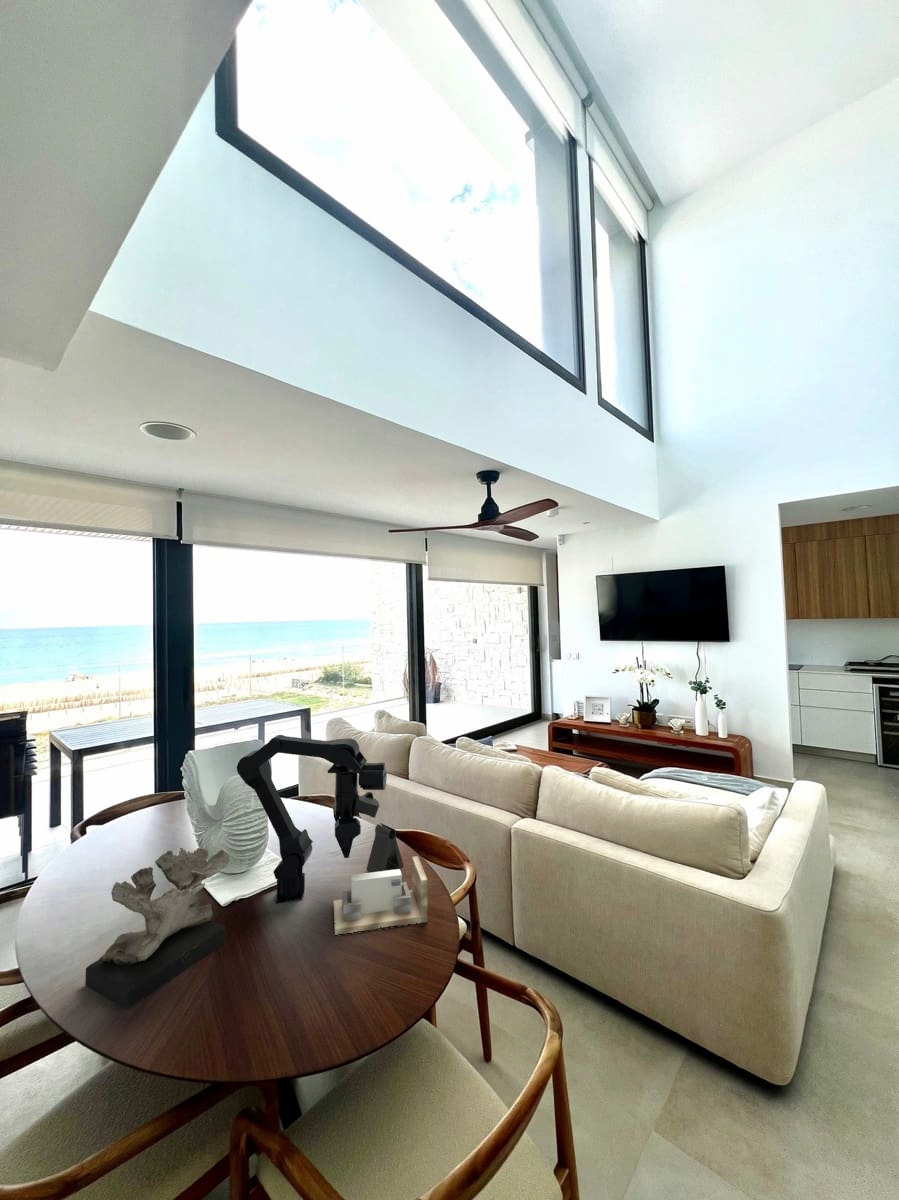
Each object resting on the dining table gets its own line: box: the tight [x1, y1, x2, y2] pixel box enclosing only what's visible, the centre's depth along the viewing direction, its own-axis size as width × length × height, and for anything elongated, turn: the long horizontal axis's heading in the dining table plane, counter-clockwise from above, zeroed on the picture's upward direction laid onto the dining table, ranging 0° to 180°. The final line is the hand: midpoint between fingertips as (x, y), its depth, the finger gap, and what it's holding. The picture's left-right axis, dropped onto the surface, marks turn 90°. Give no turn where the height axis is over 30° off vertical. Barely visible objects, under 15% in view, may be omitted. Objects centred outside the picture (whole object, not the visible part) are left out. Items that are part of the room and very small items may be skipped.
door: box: [350, 868, 403, 914], centre depth 122 cm, size 12×4×8 cm, turn 105°
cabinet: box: [333, 855, 428, 936], centre depth 123 cm, size 22×12×10 cm, turn 105°
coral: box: [84, 847, 230, 1010], centre depth 105 cm, size 25×20×22 cm
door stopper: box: [366, 823, 405, 873], centre depth 145 cm, size 9×6×12 cm, turn 137°
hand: (345, 849), depth 131 cm, fingers open, 9 cm apart
